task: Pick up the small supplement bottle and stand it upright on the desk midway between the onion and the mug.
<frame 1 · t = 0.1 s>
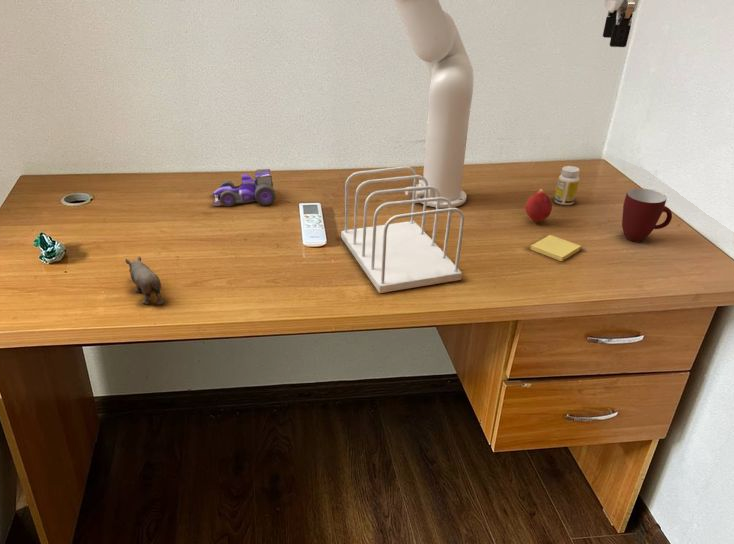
hand: (613, 41, 139), 37 cm above the table, tool pointing down, fingers open, 9 cm apart
mug: (639, 238, 148), on the table
file sorter: (397, 259, 139), on the table
supplement bottle: (563, 202, 164), on the table
rhino figurine: (145, 291, 128), on the table
toy race car: (244, 200, 164), on the table
onion: (535, 223, 154), on the table
sticky note pad: (555, 249, 143), on the table
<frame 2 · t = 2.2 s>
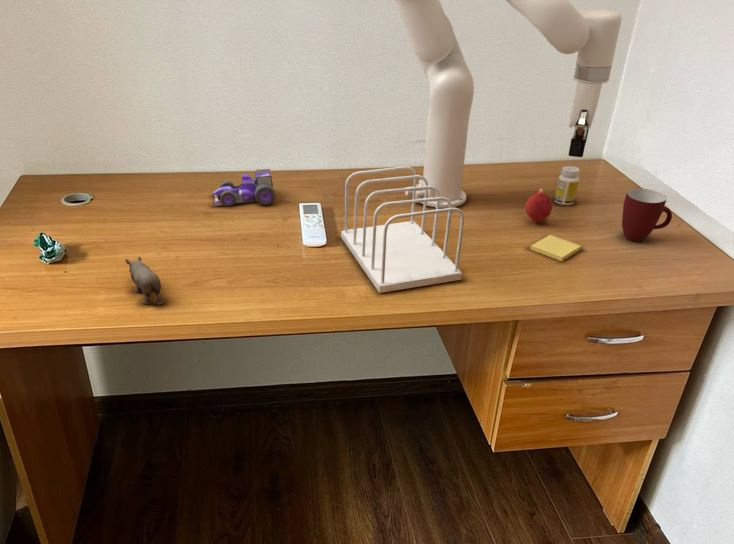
hand: (577, 149, 156), 13 cm above the table, tool pointing down, fingers open, 9 cm apart
nothing on the table moved.
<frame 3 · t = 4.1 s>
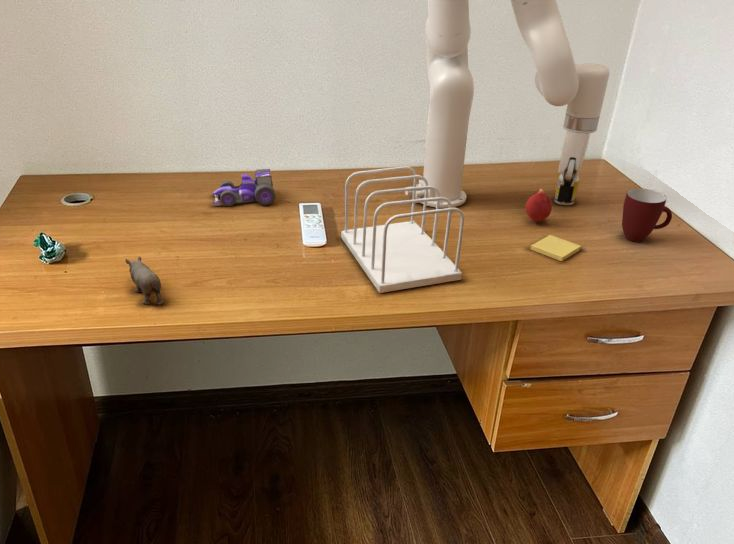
hand: (565, 196, 163), 1 cm above the table, tool pointing down, fingers closed on supplement bottle, 4 cm apart
supplement bottle: (563, 202, 164), on the table, touching gripper
everything else where it was.
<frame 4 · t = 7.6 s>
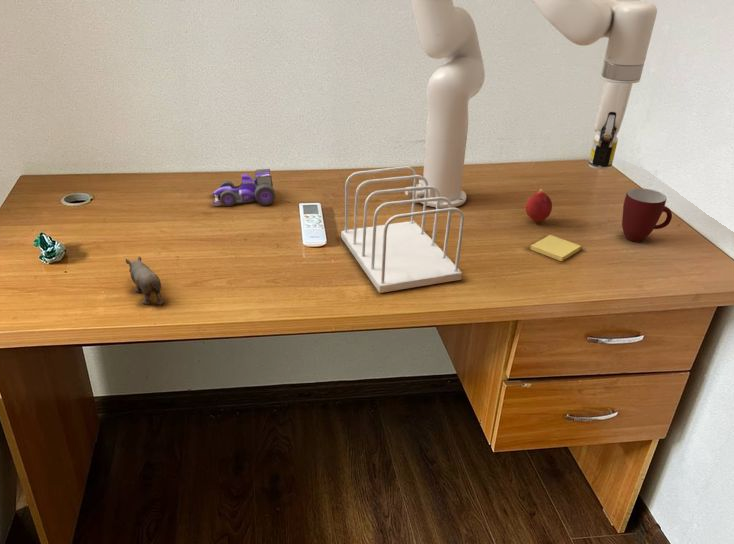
hand: (600, 160, 143), 16 cm above the table, tool pointing down, fingers closed on supplement bottle, 4 cm apart
supplement bottle: (599, 167, 144), point 14 cm above the table, touching gripper
everything else where it was.
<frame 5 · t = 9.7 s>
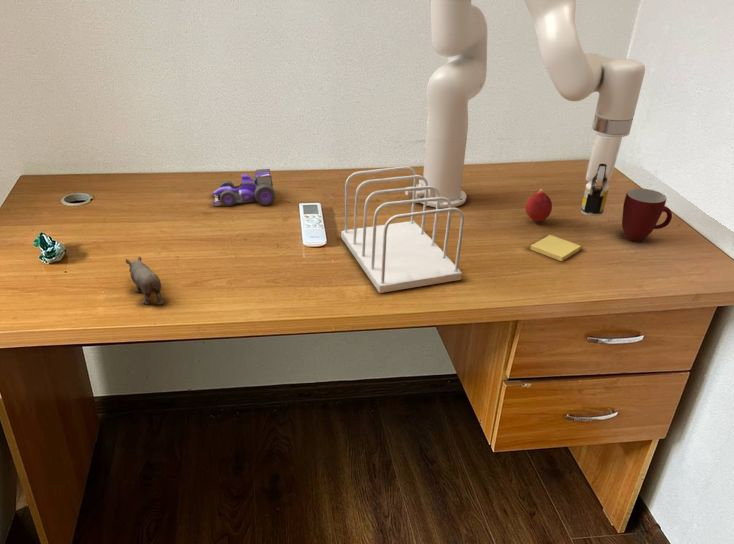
hand: (592, 206, 148), 6 cm above the table, tool pointing down, fingers closed on supplement bottle, 4 cm apart
supplement bottle: (591, 213, 148), point 4 cm above the table, touching gripper
everything else where it was.
when the fingers open (1 cm above the table, at t = 11.2 s): supplement bottle stays where it is, on the table.
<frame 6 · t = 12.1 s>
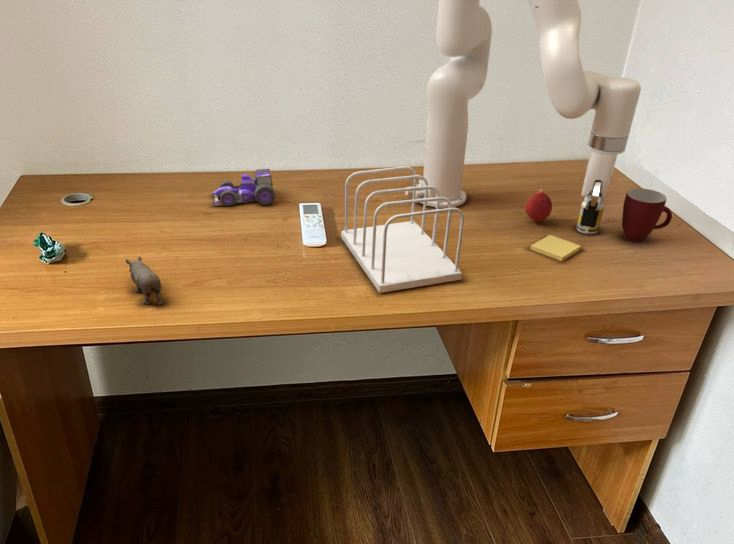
hand: (588, 217, 149), 3 cm above the table, tool pointing down, fingers open, 9 cm apart
supplement bottle: (586, 230, 151), on the table
everything else where it was.
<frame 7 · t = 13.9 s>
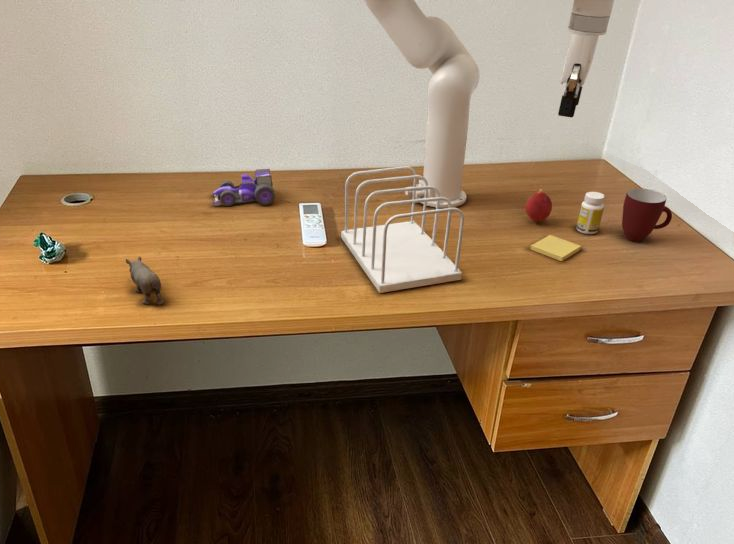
hand: (568, 110, 144), 24 cm above the table, tool pointing down, fingers open, 9 cm apart
nothing on the table moved.
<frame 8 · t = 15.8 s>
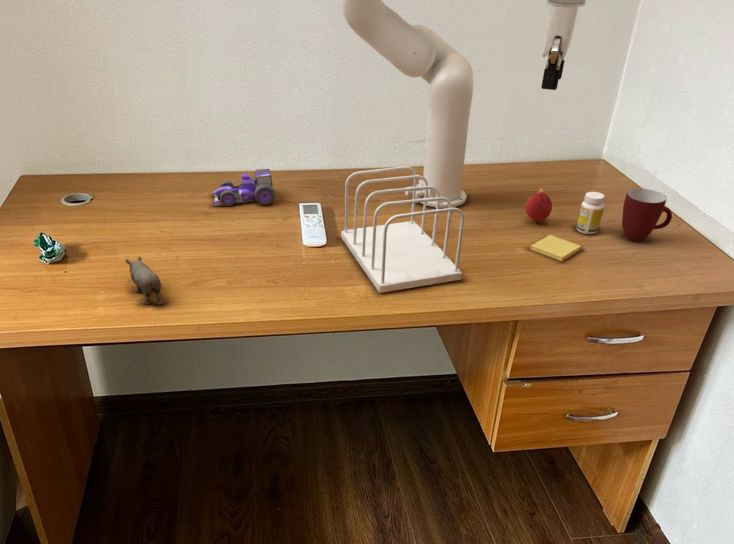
hand: (551, 83, 146), 28 cm above the table, tool pointing down, fingers open, 9 cm apart
nothing on the table moved.
at the end: supplement bottle 11.4 cm from the onion (horizontally); supplement bottle 11.3 cm from the mug (horizontally); supplement bottle tilted 0° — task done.
